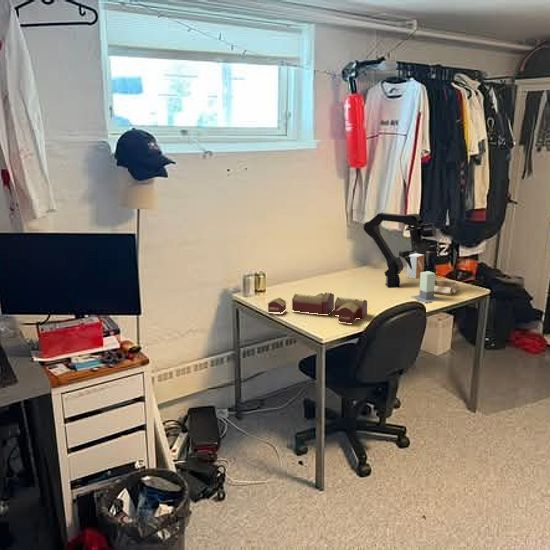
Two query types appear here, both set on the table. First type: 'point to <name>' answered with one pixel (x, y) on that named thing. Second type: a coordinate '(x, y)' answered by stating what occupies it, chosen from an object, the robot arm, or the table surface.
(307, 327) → the table surface
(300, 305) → the toy houses
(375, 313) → the table surface
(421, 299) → the coaster
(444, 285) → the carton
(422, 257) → the small box
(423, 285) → the box
